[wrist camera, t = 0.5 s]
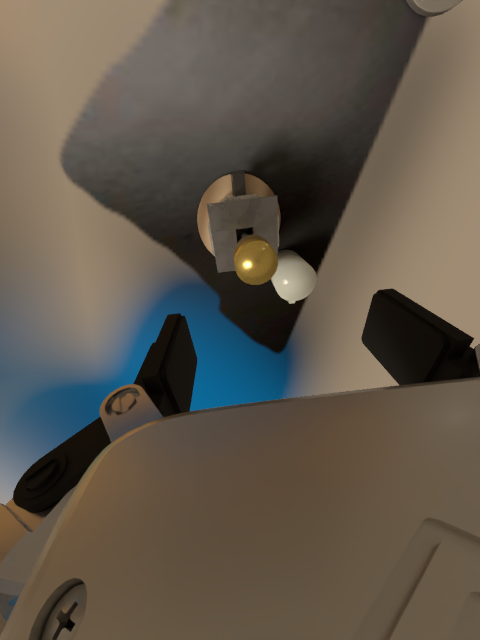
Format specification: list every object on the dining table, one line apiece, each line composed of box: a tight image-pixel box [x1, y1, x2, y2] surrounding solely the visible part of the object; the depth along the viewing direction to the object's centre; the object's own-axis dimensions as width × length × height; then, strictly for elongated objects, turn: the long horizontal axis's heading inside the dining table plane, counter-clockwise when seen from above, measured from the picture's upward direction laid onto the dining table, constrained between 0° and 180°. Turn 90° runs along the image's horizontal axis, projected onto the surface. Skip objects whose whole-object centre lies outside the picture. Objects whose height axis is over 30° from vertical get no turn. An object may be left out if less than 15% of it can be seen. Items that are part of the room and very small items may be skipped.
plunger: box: [233, 227, 278, 285], centre depth 27 cm, size 8×8×18 cm
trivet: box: [197, 174, 281, 254], centre depth 41 cm, size 16×16×1 cm
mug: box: [271, 250, 316, 304], centre depth 43 cm, size 8×9×9 cm
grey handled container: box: [207, 170, 279, 273], centre depth 34 cm, size 10×13×13 cm
